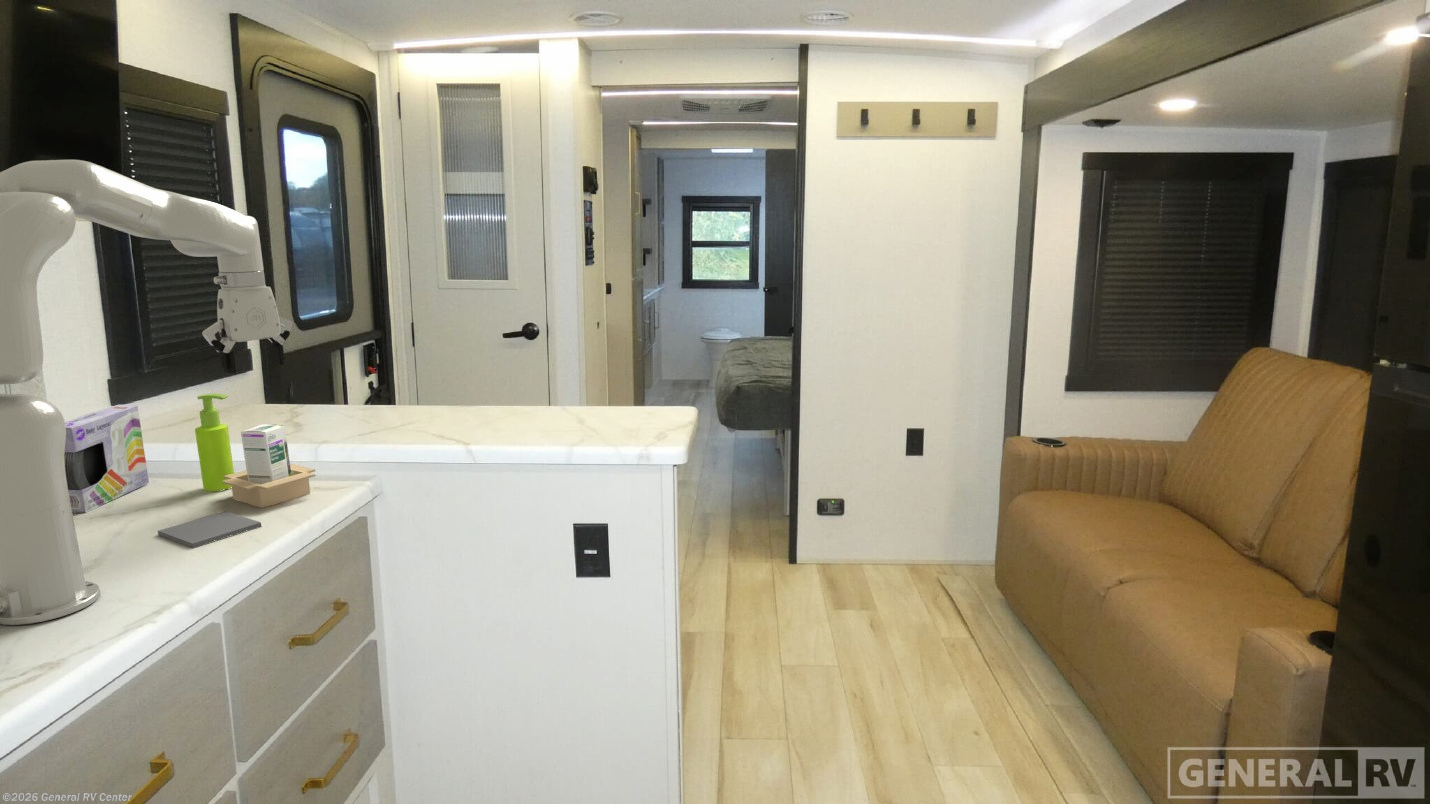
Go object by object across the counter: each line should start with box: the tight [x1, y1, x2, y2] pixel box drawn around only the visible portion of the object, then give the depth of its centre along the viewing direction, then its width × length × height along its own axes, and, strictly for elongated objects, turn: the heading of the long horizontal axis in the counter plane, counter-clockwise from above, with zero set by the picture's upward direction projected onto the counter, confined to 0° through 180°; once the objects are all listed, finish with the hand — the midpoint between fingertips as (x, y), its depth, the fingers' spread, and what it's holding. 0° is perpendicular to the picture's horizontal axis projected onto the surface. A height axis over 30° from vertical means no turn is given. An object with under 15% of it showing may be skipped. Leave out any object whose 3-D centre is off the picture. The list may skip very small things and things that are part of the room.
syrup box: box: [240, 423, 292, 485], centre depth 172 cm, size 6×6×14 cm
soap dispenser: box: [194, 393, 235, 492], centre depth 177 cm, size 6×7×20 cm
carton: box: [222, 462, 316, 509], centre depth 173 cm, size 14×15×4 cm
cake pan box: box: [64, 404, 150, 514], centre depth 171 cm, size 19×5×18 cm, turn 177°
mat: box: [157, 510, 262, 549], centre depth 154 cm, size 12×12×1 cm
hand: (254, 368), depth 167 cm, fingers open, 9 cm apart
